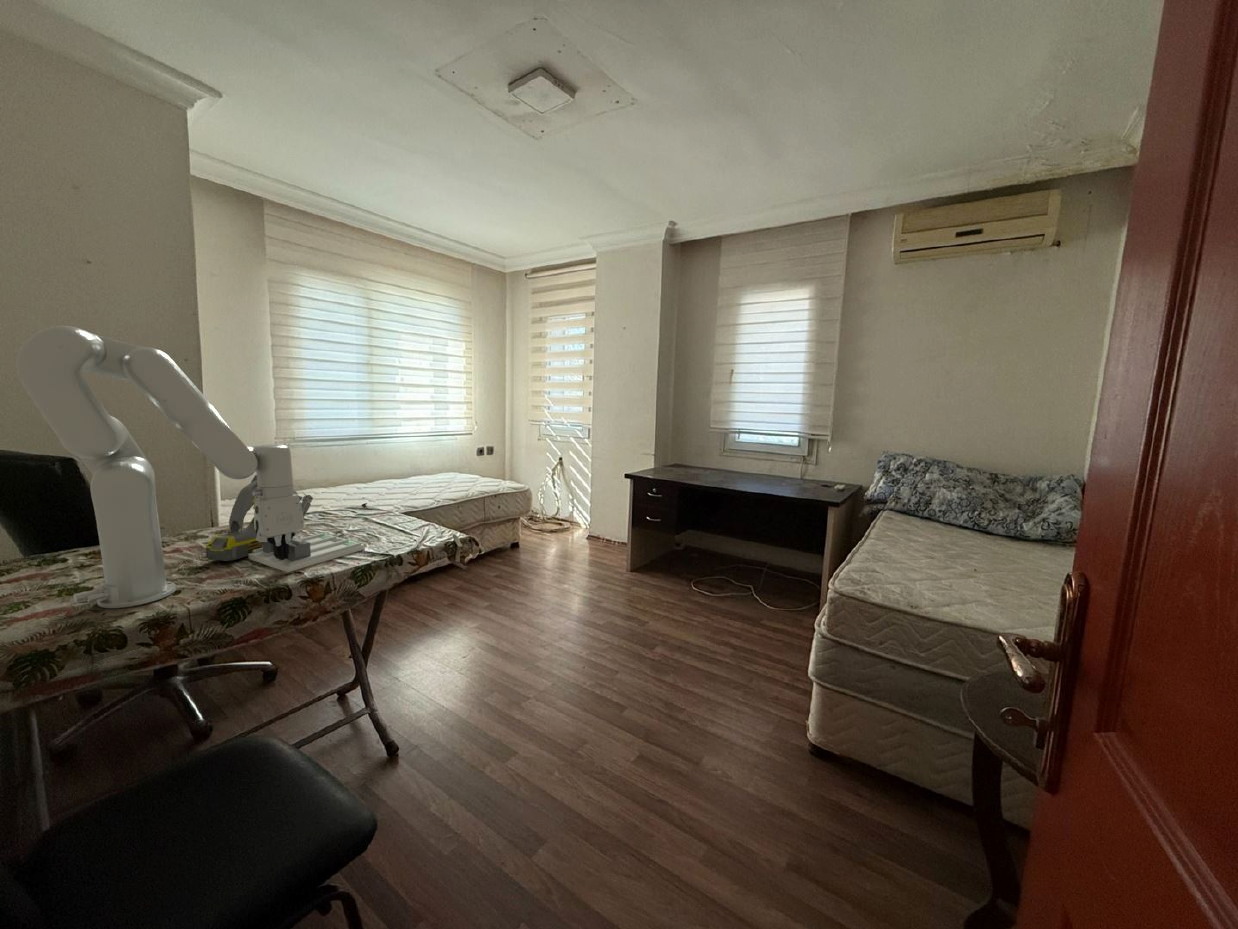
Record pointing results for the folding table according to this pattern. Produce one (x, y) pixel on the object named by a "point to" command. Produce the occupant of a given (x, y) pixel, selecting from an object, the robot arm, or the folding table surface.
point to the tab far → (267, 547)
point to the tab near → (298, 550)
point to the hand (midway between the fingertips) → (282, 558)
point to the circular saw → (242, 539)
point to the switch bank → (320, 551)
